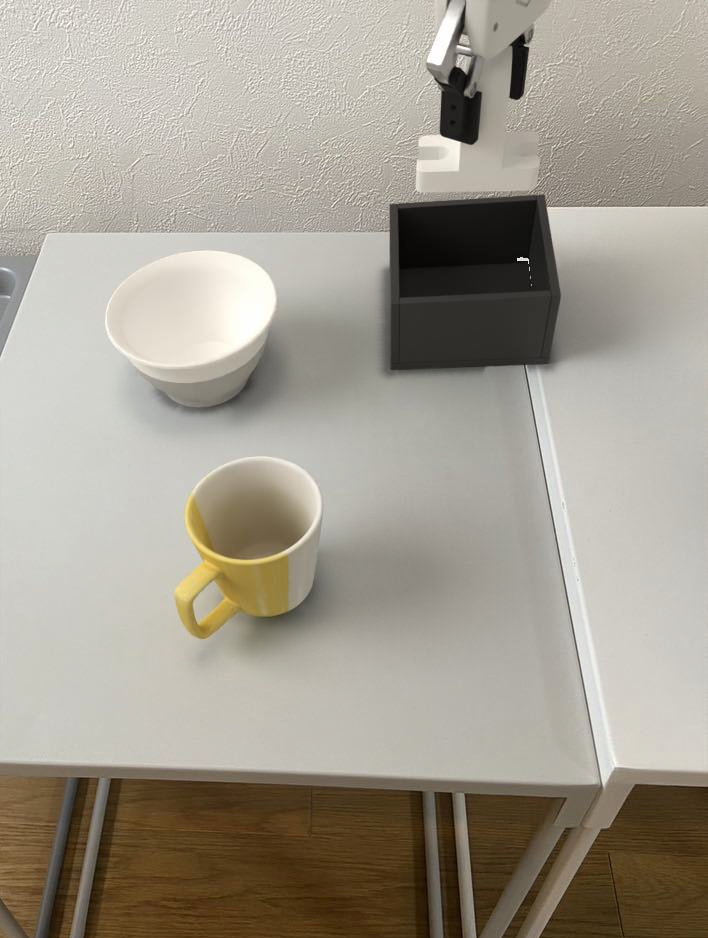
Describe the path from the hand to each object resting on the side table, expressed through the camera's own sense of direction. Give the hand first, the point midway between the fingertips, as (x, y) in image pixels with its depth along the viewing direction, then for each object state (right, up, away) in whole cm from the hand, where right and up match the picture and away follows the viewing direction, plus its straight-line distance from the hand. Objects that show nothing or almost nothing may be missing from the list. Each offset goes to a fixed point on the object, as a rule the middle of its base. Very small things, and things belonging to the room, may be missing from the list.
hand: (481, 114), depth 75 cm
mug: (-18, -39, +2) cm, 43 cm away
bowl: (-23, -17, +17) cm, 33 cm away
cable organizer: (+1, -3, +4) cm, 5 cm away
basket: (+2, -11, +17) cm, 20 cm away
